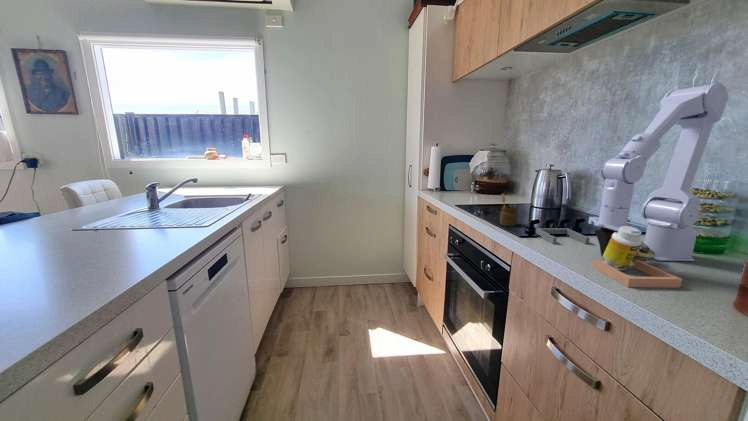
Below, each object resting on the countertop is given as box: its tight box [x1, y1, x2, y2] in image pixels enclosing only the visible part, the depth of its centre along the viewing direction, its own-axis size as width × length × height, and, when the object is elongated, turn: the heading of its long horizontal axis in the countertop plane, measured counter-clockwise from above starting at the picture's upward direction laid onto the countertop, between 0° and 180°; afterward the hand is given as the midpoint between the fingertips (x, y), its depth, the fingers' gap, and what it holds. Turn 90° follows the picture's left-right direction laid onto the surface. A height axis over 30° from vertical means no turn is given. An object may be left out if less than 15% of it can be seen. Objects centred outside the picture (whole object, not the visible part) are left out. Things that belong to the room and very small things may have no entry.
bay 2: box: [591, 258, 683, 289], centre depth 68 cm, size 11×11×2 cm
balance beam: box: [636, 240, 655, 259], centre depth 81 cm, size 5×18×2 cm, turn 178°
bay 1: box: [534, 227, 590, 245], centre depth 96 cm, size 11×11×2 cm
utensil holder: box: [499, 192, 518, 227], centre depth 114 cm, size 6×6×12 cm
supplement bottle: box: [601, 225, 642, 271], centre depth 71 cm, size 6×6×10 cm
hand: (606, 257), depth 76 cm, fingers closed
